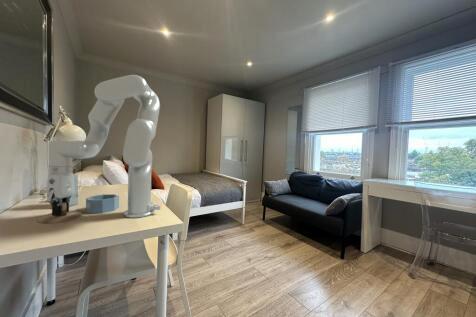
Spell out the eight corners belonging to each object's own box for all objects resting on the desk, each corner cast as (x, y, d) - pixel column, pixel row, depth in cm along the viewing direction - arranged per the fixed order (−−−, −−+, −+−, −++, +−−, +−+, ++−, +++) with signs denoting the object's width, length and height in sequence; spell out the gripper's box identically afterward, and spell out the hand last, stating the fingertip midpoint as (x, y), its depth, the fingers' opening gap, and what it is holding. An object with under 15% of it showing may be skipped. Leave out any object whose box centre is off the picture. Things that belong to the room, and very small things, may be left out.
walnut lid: (88, 212, 91) (88, 199, 91) (67, 223, 78) (67, 208, 77) (55, 213, 89) (55, 199, 89) (27, 224, 76) (27, 208, 75)
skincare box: (62, 208, 96) (62, 175, 95) (50, 207, 97) (50, 175, 96) (79, 204, 104) (79, 173, 103) (68, 202, 105) (68, 173, 105)
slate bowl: (121, 205, 103) (121, 194, 103) (110, 212, 91) (110, 199, 91) (95, 206, 101) (95, 194, 101) (81, 213, 89) (81, 200, 89)
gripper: (56, 172, 75) (56, 220, 76) (82, 168, 91) (82, 207, 92) (33, 172, 74) (33, 220, 74) (64, 168, 90) (64, 208, 91)
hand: (60, 213), depth 83 cm, fingers closed on walnut lid, 3 cm apart
